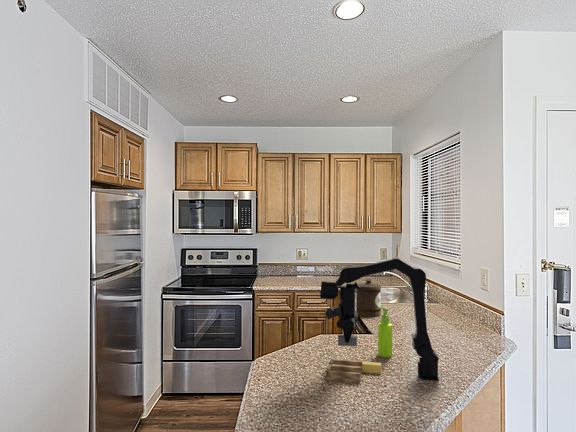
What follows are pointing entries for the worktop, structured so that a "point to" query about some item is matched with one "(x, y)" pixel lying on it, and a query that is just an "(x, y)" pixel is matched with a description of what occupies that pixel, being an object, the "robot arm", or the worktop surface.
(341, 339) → the tall grey block
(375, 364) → the yellow rectangular block
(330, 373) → the slot board
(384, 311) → the soap dispenser
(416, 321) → the robot arm
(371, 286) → the wooden container
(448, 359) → the worktop surface
